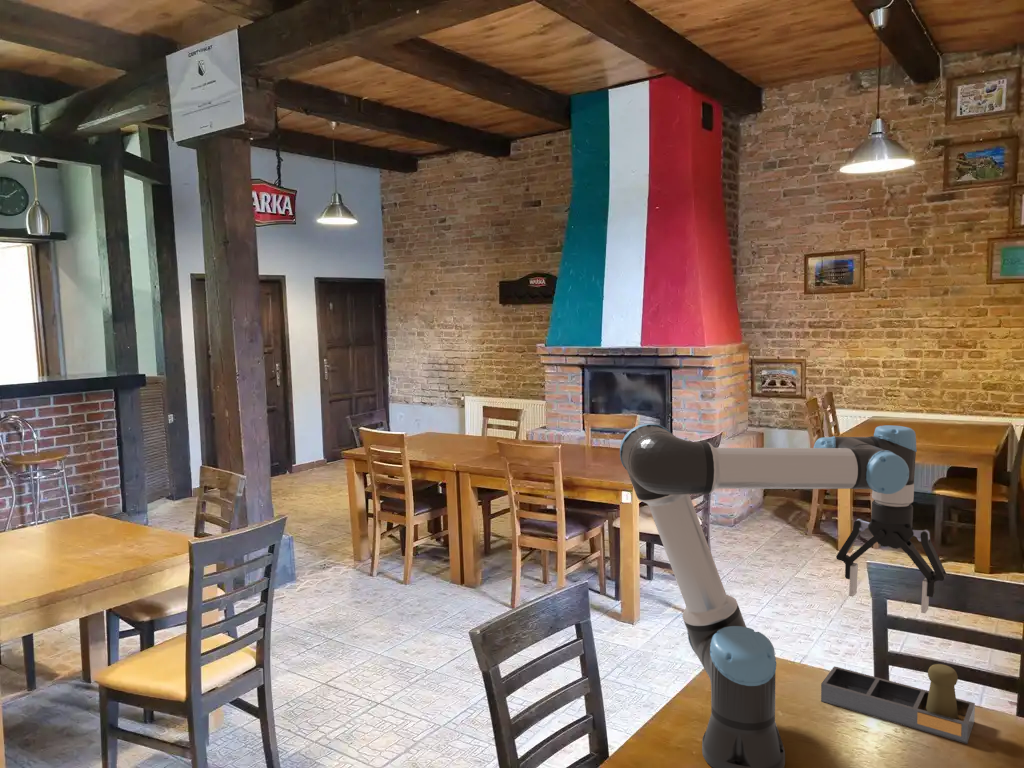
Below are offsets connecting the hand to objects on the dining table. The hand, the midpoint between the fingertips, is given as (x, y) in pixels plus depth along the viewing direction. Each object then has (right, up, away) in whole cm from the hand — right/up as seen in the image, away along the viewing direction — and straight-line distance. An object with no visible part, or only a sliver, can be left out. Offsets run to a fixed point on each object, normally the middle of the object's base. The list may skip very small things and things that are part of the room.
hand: (887, 602), depth 153 cm
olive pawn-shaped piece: (+10, -23, -3) cm, 25 cm away
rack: (+3, -24, +3) cm, 24 cm away
